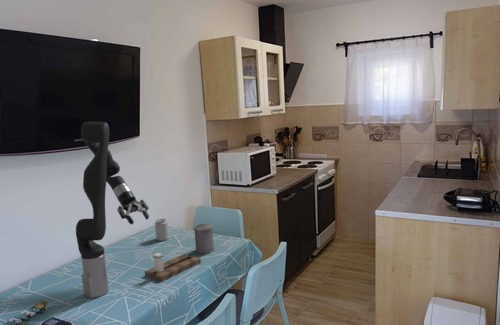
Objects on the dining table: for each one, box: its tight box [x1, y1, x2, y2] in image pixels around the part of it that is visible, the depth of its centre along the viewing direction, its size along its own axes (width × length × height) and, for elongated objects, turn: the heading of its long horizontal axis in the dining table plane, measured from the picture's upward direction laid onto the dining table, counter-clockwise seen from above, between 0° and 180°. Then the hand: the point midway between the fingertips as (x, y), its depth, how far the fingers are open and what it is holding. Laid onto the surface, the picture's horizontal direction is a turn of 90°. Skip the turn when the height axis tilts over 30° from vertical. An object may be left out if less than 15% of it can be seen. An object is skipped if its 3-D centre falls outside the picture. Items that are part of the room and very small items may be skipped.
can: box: [154, 218, 170, 242], centre depth 233 cm, size 8×8×12 cm
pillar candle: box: [193, 223, 215, 255], centre depth 210 cm, size 10×10×15 cm
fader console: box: [144, 253, 202, 283], centre depth 189 cm, size 25×12×2 cm, turn 141°
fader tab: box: [152, 252, 164, 274], centre depth 182 cm, size 2×4×9 cm
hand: (140, 221), depth 186 cm, fingers open, 8 cm apart
